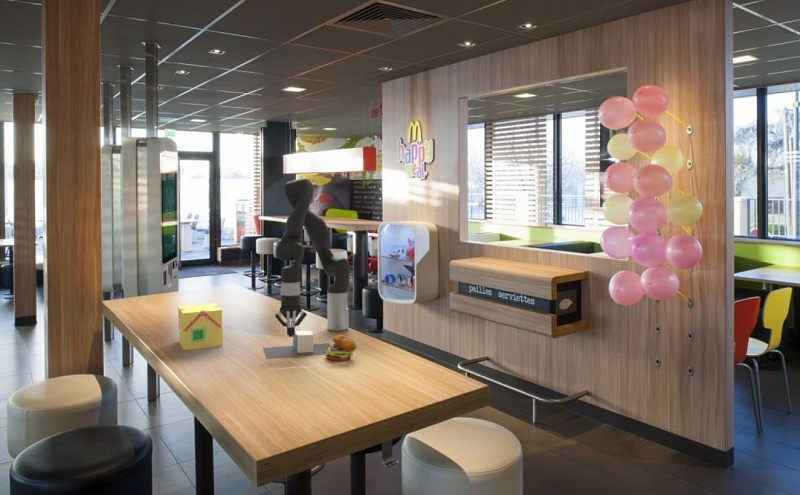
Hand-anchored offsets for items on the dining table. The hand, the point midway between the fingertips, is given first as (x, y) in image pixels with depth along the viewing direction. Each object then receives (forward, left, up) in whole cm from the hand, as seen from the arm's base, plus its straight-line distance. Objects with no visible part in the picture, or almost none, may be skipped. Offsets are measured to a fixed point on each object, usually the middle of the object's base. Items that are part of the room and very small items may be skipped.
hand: (290, 336), depth 230 cm
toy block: (+34, -23, -7) cm, 42 cm away
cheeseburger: (-17, +14, -7) cm, 23 cm away
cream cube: (-1, 0, -2) cm, 3 cm away
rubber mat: (-3, 0, -6) cm, 7 cm away
